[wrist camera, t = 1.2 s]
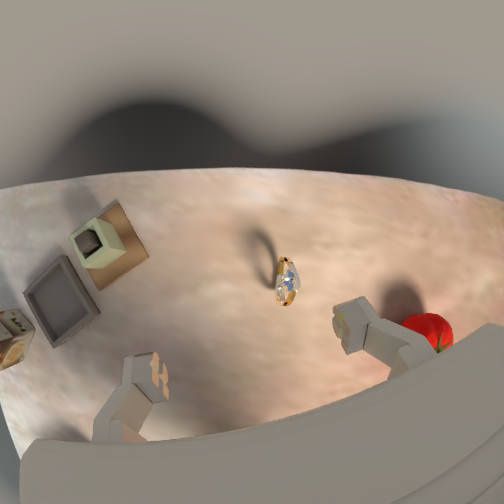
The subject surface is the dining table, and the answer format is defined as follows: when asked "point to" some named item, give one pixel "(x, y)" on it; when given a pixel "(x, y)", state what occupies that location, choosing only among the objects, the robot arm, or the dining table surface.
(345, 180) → the dining table surface
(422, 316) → the tomato
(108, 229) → the collar
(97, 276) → the square peg stand
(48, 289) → the tray
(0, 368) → the coffee box
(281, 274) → the ring
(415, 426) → the robot arm
